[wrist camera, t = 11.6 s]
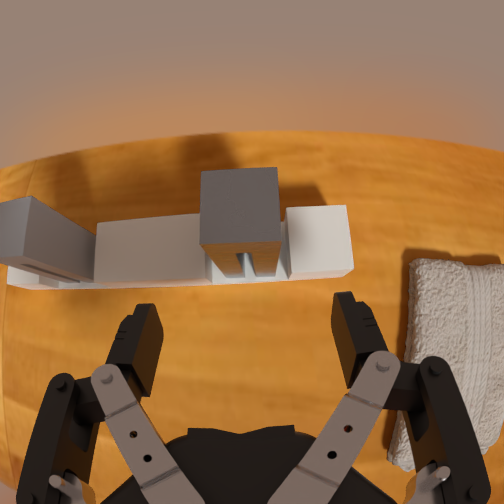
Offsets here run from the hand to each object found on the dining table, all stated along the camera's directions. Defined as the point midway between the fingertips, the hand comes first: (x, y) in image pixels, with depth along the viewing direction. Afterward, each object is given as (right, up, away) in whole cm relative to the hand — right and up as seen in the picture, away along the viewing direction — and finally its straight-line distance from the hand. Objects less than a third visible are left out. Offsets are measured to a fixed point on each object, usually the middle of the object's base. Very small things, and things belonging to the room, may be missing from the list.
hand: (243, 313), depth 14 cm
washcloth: (+18, -7, +8) cm, 21 cm away
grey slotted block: (0, +3, +10) cm, 10 cm away
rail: (-7, +2, +11) cm, 13 cm away
